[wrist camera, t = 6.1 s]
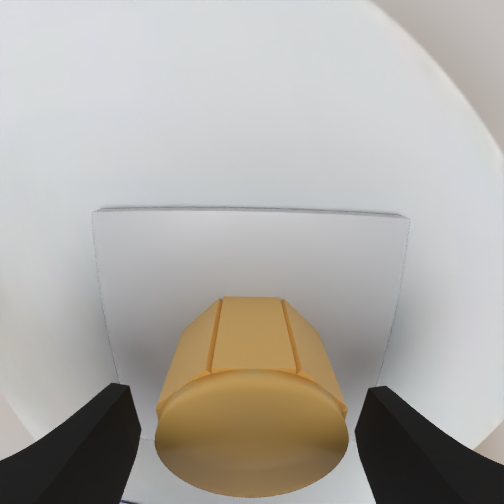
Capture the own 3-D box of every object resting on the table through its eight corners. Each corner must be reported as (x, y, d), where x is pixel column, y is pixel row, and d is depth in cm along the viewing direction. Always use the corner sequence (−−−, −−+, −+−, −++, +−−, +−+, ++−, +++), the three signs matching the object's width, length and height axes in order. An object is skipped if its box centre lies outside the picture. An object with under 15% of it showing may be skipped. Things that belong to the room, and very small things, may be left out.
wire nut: (308, 402, 12) (328, 492, 7) (189, 401, 12) (170, 492, 7) (324, 297, 10) (369, 382, 6) (178, 294, 10) (137, 381, 6)
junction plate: (352, 429, 14) (373, 487, 10) (140, 427, 13) (120, 485, 9) (400, 215, 11) (464, 241, 7) (101, 208, 10) (38, 233, 6)
